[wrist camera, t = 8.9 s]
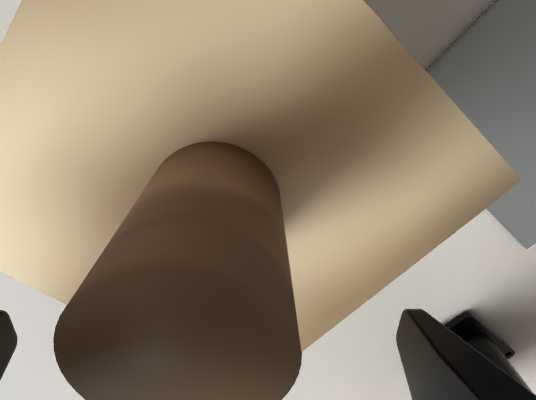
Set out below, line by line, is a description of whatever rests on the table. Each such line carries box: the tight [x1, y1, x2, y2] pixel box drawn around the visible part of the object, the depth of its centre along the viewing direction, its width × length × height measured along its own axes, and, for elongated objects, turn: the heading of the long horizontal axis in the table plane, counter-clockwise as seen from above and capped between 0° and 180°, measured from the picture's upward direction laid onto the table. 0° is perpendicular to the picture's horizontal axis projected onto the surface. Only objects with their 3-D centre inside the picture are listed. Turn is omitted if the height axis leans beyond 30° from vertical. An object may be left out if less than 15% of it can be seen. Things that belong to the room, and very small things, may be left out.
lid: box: [0, 0, 522, 400], centre depth 8 cm, size 12×12×6 cm
